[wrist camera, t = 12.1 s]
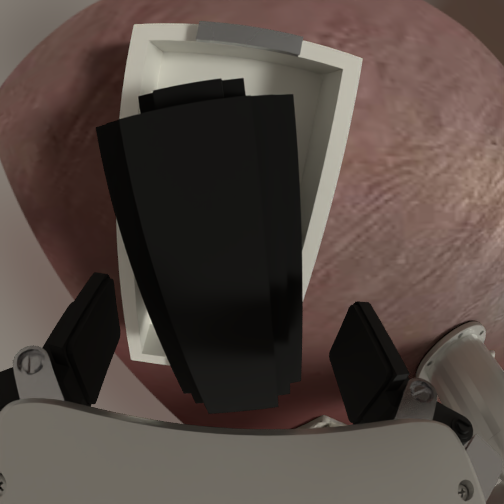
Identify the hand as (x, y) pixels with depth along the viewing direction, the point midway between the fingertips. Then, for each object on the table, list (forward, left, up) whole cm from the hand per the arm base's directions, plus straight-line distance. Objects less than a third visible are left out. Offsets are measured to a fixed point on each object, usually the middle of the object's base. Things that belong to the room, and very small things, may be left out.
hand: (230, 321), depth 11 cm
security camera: (0, +1, -10) cm, 10 cm away
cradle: (+1, 0, -11) cm, 11 cm away
